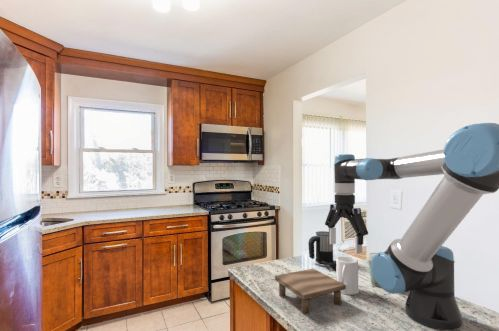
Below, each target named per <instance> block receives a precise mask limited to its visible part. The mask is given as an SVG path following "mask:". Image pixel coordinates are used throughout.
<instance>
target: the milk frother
mask: <svg viewBox="0 0 499 331" xmlns="http://www.w3.org/2000/svg"><path fill="white" fill-rule="evenodd" d="M315 234H316V235H314V236H311V237H310V238H309V239H308V255H309V256H308V257H309V259H311V260H314V259H315V262H316V263H318V264H323V265H328V266H330V267H332V268H333V269H336V262H334V244H330V235H329V231H327V230H326V231H325V230H324V231H323V230H321V231H320V230H319V231H316V232H315Z"/></svg>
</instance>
